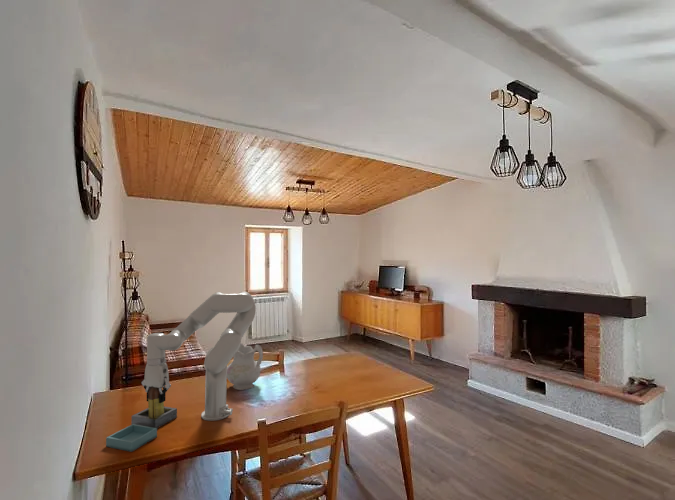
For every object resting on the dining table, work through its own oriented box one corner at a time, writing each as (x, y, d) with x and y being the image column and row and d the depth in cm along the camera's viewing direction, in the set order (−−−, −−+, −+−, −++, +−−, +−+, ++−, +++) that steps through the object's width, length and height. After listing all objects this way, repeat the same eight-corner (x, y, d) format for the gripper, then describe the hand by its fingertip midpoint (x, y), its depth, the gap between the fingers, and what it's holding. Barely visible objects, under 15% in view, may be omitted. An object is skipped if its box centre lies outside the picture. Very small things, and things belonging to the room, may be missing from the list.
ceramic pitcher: (268, 384, 223) (269, 341, 226) (258, 393, 204) (259, 346, 206) (233, 382, 225) (234, 340, 228) (219, 391, 206) (221, 345, 208)
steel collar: (176, 417, 173) (177, 408, 173) (155, 429, 161) (155, 419, 161) (154, 413, 177) (154, 404, 177) (131, 425, 165) (131, 415, 165)
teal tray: (156, 436, 154) (157, 428, 154) (131, 451, 142) (131, 442, 142) (132, 432, 158) (132, 423, 158) (106, 446, 146) (106, 437, 146)
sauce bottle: (166, 417, 172) (166, 373, 173) (160, 423, 166) (160, 378, 166) (151, 417, 172) (152, 373, 172) (145, 423, 166) (145, 378, 166)
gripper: (177, 360, 171) (177, 400, 170) (147, 357, 176) (147, 396, 175) (165, 365, 163) (165, 406, 163) (134, 361, 169) (134, 402, 168)
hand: (156, 400), depth 169 cm, fingers closed on sauce bottle, 6 cm apart
